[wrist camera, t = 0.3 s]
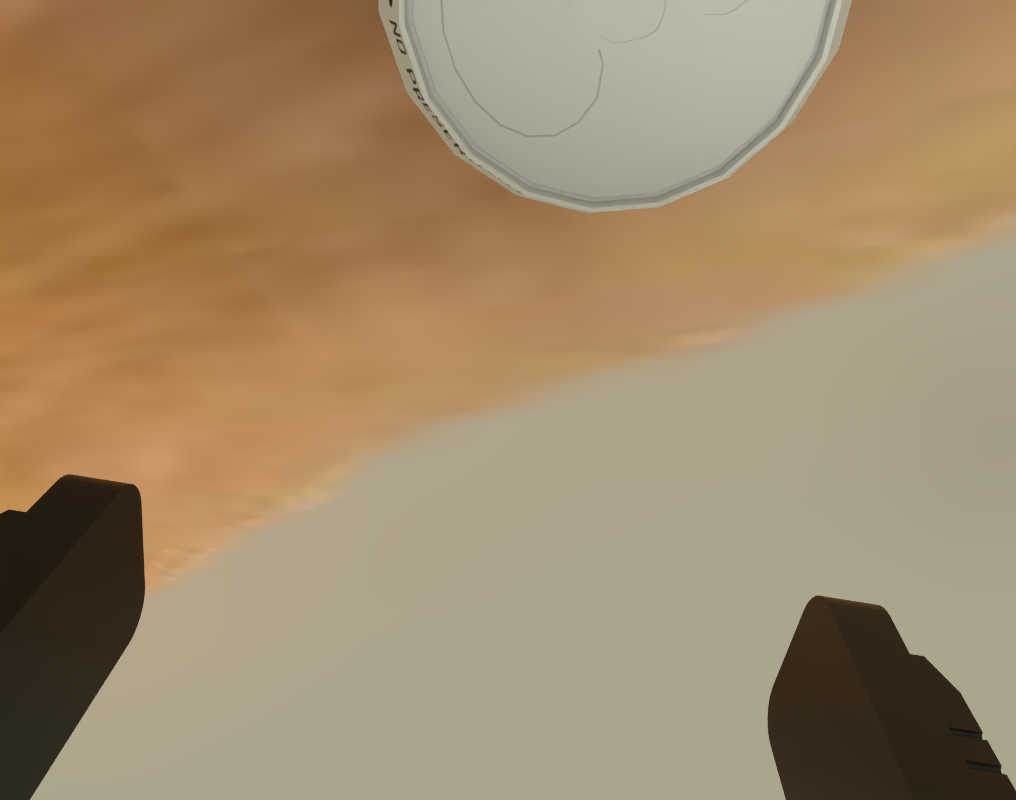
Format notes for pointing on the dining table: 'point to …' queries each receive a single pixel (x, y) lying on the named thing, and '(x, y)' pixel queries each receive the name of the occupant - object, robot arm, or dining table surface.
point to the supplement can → (611, 88)
